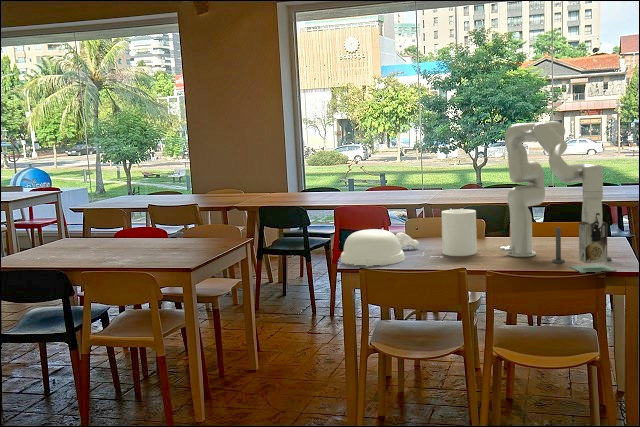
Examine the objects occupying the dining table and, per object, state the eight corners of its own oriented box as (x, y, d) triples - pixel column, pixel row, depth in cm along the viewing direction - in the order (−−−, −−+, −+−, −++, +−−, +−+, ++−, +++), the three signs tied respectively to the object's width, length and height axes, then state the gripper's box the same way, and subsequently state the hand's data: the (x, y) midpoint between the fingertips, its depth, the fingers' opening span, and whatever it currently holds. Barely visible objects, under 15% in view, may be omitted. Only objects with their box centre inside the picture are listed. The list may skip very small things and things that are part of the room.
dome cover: (347, 253, 339) (346, 225, 338) (407, 253, 333) (406, 224, 331) (334, 267, 309) (332, 236, 307) (400, 266, 302) (399, 235, 300)
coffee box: (600, 259, 280) (600, 220, 278) (607, 262, 274) (607, 222, 272) (578, 260, 280) (578, 221, 278) (585, 263, 274) (584, 223, 272)
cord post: (554, 263, 292) (554, 228, 290) (550, 261, 297) (550, 227, 295) (566, 262, 292) (566, 228, 290) (562, 260, 297) (561, 226, 295)
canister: (442, 250, 335) (441, 209, 333) (476, 249, 332) (475, 208, 330) (442, 256, 320) (441, 214, 317) (477, 255, 317) (476, 213, 314)
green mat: (581, 273, 271) (581, 271, 271) (570, 267, 283) (570, 265, 283) (616, 271, 271) (616, 270, 271) (603, 265, 283) (603, 264, 283)
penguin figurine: (395, 231, 344) (418, 232, 344) (394, 248, 345) (417, 249, 345) (395, 233, 338) (420, 234, 337) (394, 250, 339) (418, 251, 339)
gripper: (575, 193, 282) (575, 236, 284) (591, 198, 265) (591, 243, 267) (593, 192, 282) (593, 235, 284) (611, 197, 265) (611, 242, 267)
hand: (592, 239), depth 276 cm, fingers closed on coffee box, 6 cm apart
